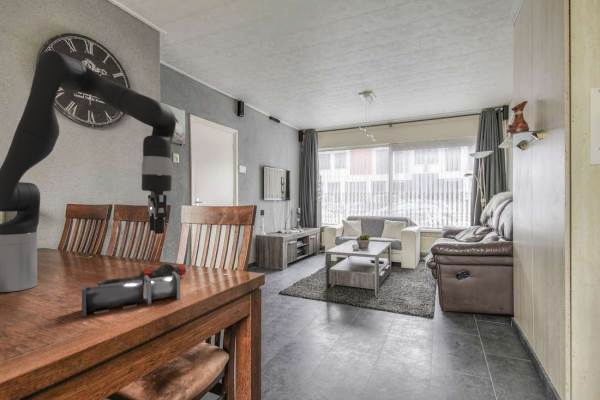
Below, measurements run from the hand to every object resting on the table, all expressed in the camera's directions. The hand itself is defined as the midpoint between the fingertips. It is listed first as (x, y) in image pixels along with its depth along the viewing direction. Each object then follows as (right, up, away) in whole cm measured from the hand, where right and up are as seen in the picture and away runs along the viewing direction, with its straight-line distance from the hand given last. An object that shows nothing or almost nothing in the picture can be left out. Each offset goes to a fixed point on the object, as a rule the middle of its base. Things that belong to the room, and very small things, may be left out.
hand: (156, 232), depth 82 cm
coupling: (+2, -18, -1) cm, 19 cm away
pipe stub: (-7, -18, -8) cm, 21 cm away
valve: (-13, -19, +19) cm, 30 cm away
